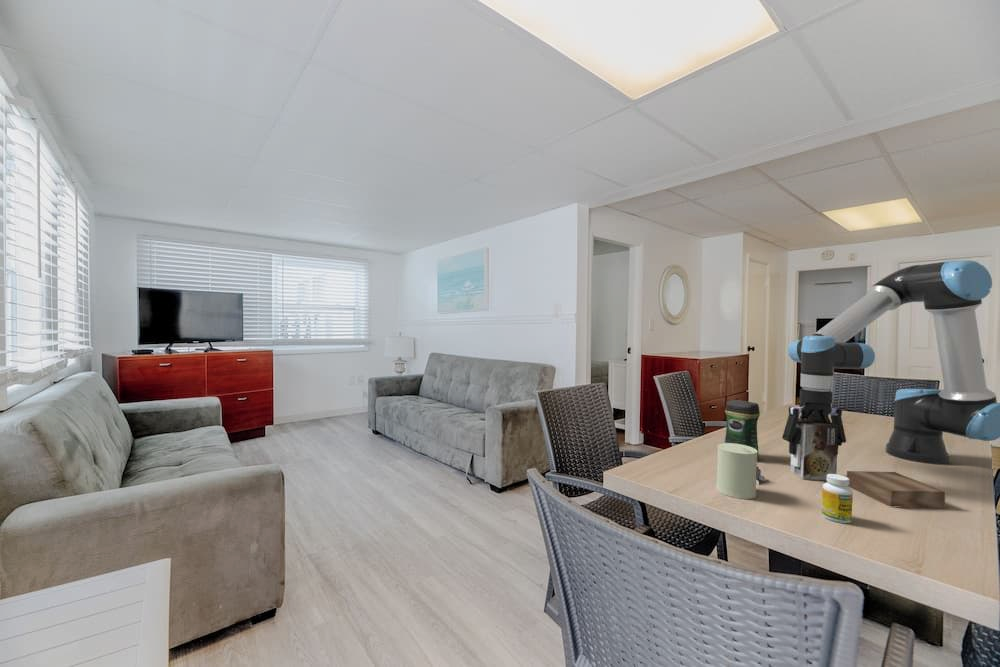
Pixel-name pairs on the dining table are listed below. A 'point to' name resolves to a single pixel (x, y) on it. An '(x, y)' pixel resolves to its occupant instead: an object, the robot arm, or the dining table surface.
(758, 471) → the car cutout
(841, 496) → the supplement bottle
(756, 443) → the coffee jar
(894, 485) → the walnut stand
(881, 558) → the dining table surface
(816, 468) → the cookie box
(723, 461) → the can
